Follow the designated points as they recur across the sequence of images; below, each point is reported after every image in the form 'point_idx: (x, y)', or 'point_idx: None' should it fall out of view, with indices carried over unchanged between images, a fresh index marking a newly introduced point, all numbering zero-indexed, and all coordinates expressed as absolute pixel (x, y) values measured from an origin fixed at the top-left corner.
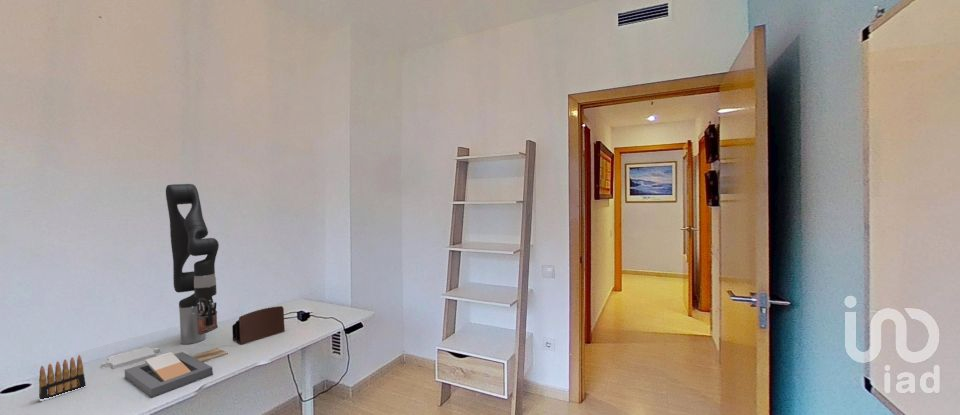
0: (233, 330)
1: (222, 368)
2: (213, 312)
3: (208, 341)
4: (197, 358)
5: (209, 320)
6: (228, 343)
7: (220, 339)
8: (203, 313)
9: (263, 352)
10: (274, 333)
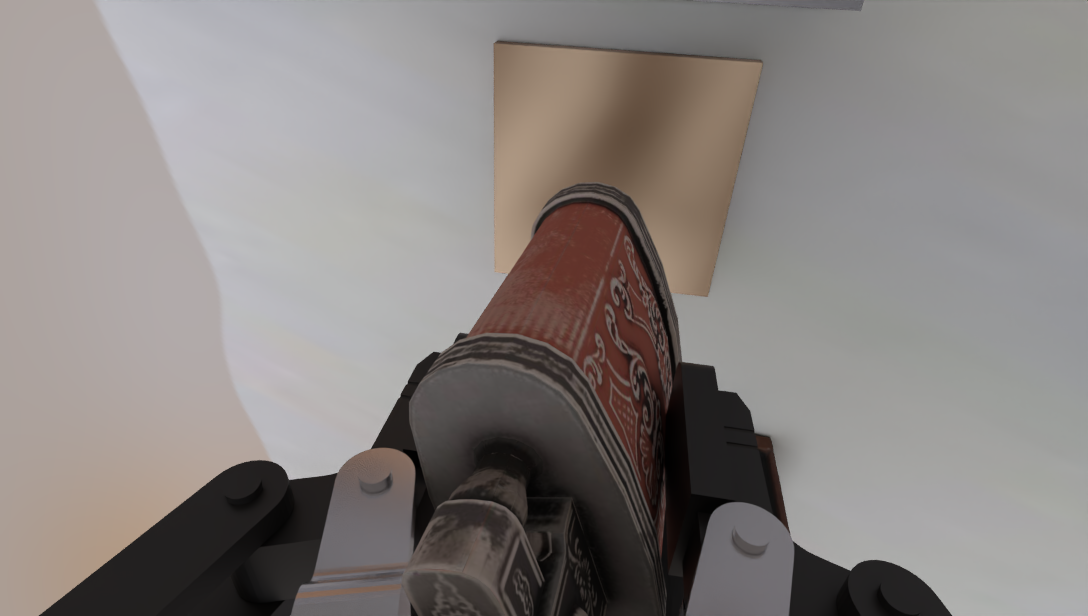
0: (774, 511)
1: (198, 78)
2: (247, 607)
3: (1007, 364)
4: (618, 73)
5: (393, 420)
6: (736, 389)
7: (916, 420)
8: (535, 549)
9: (289, 367)
10: None
